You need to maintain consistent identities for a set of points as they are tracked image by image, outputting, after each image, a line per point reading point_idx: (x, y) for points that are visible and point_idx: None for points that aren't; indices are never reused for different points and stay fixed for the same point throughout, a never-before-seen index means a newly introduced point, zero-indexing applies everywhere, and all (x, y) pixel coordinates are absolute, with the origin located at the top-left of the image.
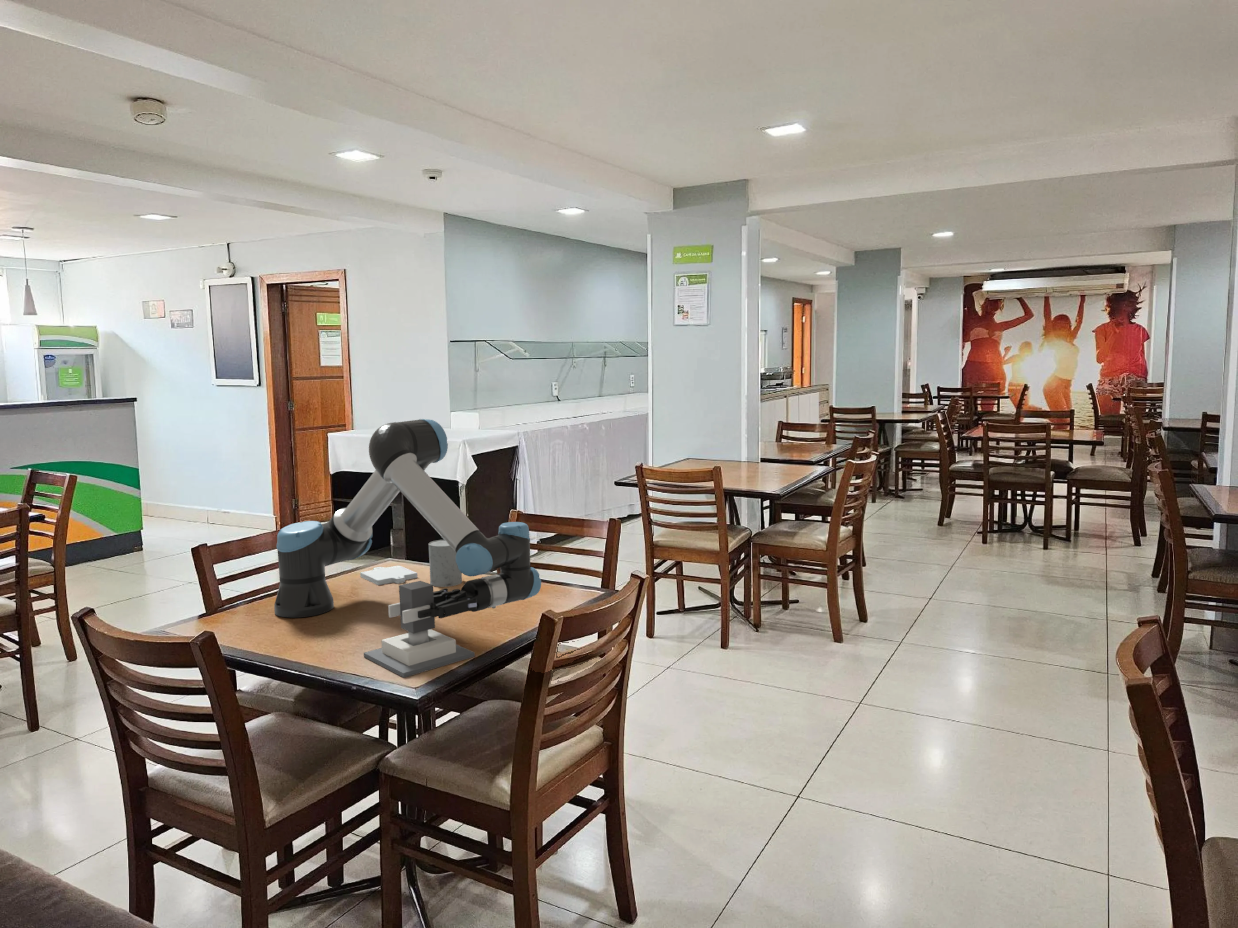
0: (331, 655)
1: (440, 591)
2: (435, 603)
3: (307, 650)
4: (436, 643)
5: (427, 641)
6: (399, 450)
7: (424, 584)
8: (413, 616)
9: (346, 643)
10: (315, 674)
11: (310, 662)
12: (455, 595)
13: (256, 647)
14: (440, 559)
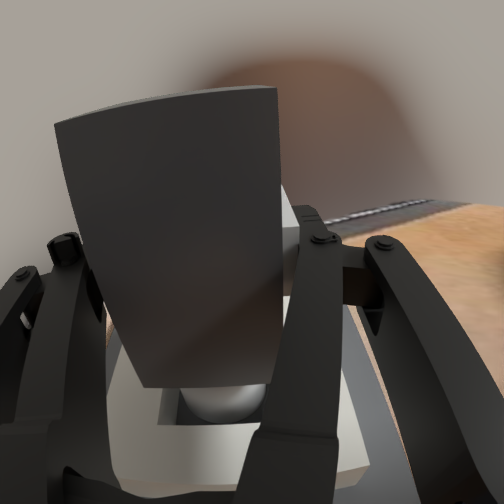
0: None
1: (484, 462)
2: (48, 247)
3: (434, 247)
4: (120, 399)
5: (184, 398)
6: None
7: (131, 103)
8: None
9: (461, 296)
10: None
11: (361, 240)
12: (25, 470)
13: (465, 215)
14: None
